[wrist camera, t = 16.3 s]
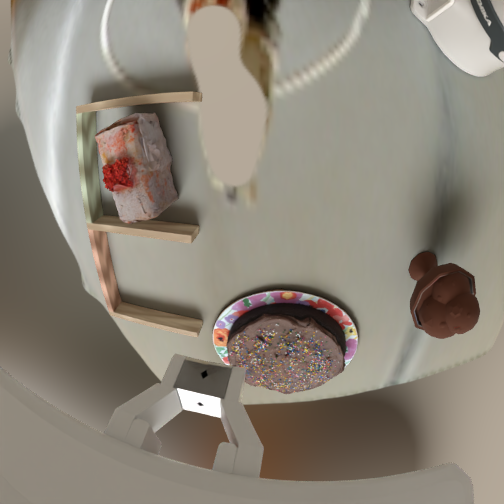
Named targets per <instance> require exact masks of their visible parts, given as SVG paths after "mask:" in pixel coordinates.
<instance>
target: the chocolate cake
mask: <svg viewBox="0 0 504 504" xmlns="http://www.w3.org/2000/svg"><path fill="white" fill-rule="evenodd" d="M212 334H213V344H214V347H215V349H216V352H217V354H218V355H219V356H220V358H221V359H222V361H223V362H224V363H225V364H226V365H231V366H235V367H242V368H246V373H245V382H246V383H248V384H249V385H253V386H259V387H263V388H268V389H269V390H276V391H279V392H281V393H284V394H291V393H295V392H300V391H305V390H310V389H313V388H315V387H318V386H321V385H322V384H324V383H325V382H327V381H329V380H330V379H332V378H333V377H335V376H337V375H338V374H339V373H342V372H343V370H344V368H345V367H346V366H347V365H348V364H349V363H350V362H351V360H352V358H353V356H354V355H355V352H356V349H357V346H358V337H359V336H358V332H357V328H356V325H355V323H354V322H353V321H352V319H351V318H350V316H349V315H348V314H347V313H346V312H345V310H343V309H342V308H340V307H338V305H336V304H333V303H332V302H330V301H328V300H327V299H326V298H324V297H320V296H315V295H312V294H308V293H302V292H298V291H293V290H290V291H289V290H287V291H284V290H283V289H273V290H267V291H264V292H261V293H260V292H258V293H256V294H253V295H250V296H247V297H243V298H240V299H238V300H236V301H234V302H233V303H231V304H230V305H229V306H228V307H226V309H224V310H223V311H222V312H221V314H220V315H219V317H218V318H217V320H216V322H215V324H214V329H213V332H212Z"/></svg>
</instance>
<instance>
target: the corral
mask: <svg viewBox="0 0 504 504" xmlns="http://www.w3.org/2000/svg"><path fill="white" fill-rule="evenodd" d="M172 102H202V93H199V92H173V93H159V94H149V95H140V96H132V97H124V98H118V99H112V100H106V101H100V102H95V103H90V104H85V105H81V106H76V122H77V148H78V162H79V172H80V182H81V190H82V197H83V204H84V210H85V216H86V222H87V228H88V233H89V238H90V242H91V247H92V252H93V256H94V260H95V264H96V268H97V272H98V276H99V280H100V283H101V287H102V290H103V294H104V297H105V300H106V304H107V307H108V310H109V313H110V315H111V316H115V317H118V318H121V319H125V320H128V321H132V322H136V323H139V324H143V325H147V326H151V327H155V328H159V329H163V330H167V331H171V332H175V333H180V334H184V335H189V336H193V337H198V335H199V333H200V330H201V328H202V325H203V320H200V319H195V318H190V317H185V316H180V315H176V314H171V313H167V312H162V311H158V310H153V309H149V308H145V307H141V306H137V305H133V304H129V303H125V302H121V298H120V294H119V290H118V286H117V282H116V278H115V274H114V269H113V265H112V260H111V255H110V250H109V245H108V240H107V234H106V232H112V233H119V234H126V235H134V236H141V237H148V238H156V239H163V240H170V241H177V242H185V243H192V242H193V241H194V239H195V238H196V236H197V235H198V234H199V225H191V224H182V223H173V222H165V221H156V220H145V221H141V222H134V223H133V224H129V223H125V222H123V221H122V220H121V219H120V217H118V216H108V215H103V209H102V201H101V193H100V184H99V173H98V160H97V142H96V139H95V135H96V111H98V110H105V109H111V108H118V107H126V106H134V105H144V104H156V103H172Z"/></svg>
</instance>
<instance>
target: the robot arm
mask: <svg viewBox="0 0 504 504" xmlns="http://www.w3.org/2000/svg"><path fill="white" fill-rule="evenodd" d="M419 3H420V4H421V5H422V6H420V5H419ZM410 9H411V11H412V12H413V14H414V15H415V16H416V17H417V18H418V19H419V20H420V21H421V22H422V23H423V24H425V26H426V27H427V28H428V30H429V31H430V33H431V35H432V37H433V39H434V40H435V42H436V43H437V45H438V46H439V48H440V49H441V50H442V52H443V53H444V54H445V55H446V56H447V57H448V58H449V59H450V60H451V61H452V62H453V63H454V64H455V65H456V66H458V67H459V68H460V69H462V70H463V71H465V72H467V73H469V74H471V75H474V76H480V77H482V76H487V75H489V74H491V73H492V72H494V71H496V70H498V69H500V68H503V67H504V0H411V5H410ZM245 373H246V368H242V367H235V366H231V365H225V364H220V363H214V362H208V361H203V360H199V359H195V358H190V357H187V356H183V355H179V354H175V355H174V356H173V357H172V359H171V362H170V364H169V366H168V368H167V370H166V373H165V375H164V377H163V379H162V382H161V384H159V383H157V384H155V385H153V386H152V387H150V388H149V389H147V390H146V391H144V392H142V393H141V394H139V395H137V396H136V397H134V398H133V399H131V400H129V401H128V402H126V403H124V404H123V405H121V406H119V407H118V408H116V409H115V411H114V413H113V415H112V417H111V419H110V421H109V423H108V425H107V428H106V430H105V431H104V433H102V432H100V431H98V430H96V429H94V428H92V427H90V426H88V425H86V424H84V423H82V422H81V421H79V420H77V419H75V418H73V417H72V416H70V415H68V414H66V413H65V412H63V411H61V410H59V409H58V408H56V407H55V406H53V405H52V404H50V403H49V402H47V401H46V400H44V399H42V398H41V397H40V396H38V395H37V394H35V393H34V392H32V391H31V390H30V389H28V388H27V387H25V386H24V385H23V384H21V383H20V382H19V381H18V380H16V379H15V378H14V377H12V376H11V375H10V374H9V373H7V372H6V371H5V370H4V369H3V368H2V367H0V504H474V494H473V484H472V481H471V479H470V477H469V476H468V475H467V474H466V473H465V472H464V471H463V470H462V469H461V468H460V467H459V466H458V465H457V464H455V463H446V464H442V465H439V466H435V467H431V468H427V469H423V470H419V471H414V472H409V473H404V474H399V475H393V476H386V477H379V478H372V479H361V480H349V481H325V482H324V481H320V482H315V481H286V480H274V479H264V478H259V474H260V468H261V462H262V456H263V450H264V447H263V446H262V444H261V442H260V440H259V438H258V436H257V434H256V432H255V429H254V427H253V426H252V423H251V421H250V419H249V417H248V415H247V413H246V411H245V409H244V406H243V404H242V403H241V400H242V395H243V389H244V382H245ZM182 409H185V410H189V411H194V412H198V413H203V414H207V415H211V416H215V417H219V418H221V420H222V423H223V425H224V428H225V431H226V433H227V436H228V438H229V441H230V443H225V442H222V443H221V444H219V447H218V450H217V454H216V458H215V461H214V465H213V469H212V470H210V469H205V468H201V467H197V466H193V465H189V464H185V463H182V462H178V461H175V460H172V459H168V458H165V457H162V456H159V455H158V454H159V451H160V448H161V445H162V444H161V442H160V440H159V439H158V437H157V436H156V435H155V432H156V431H157V430H158V429H160V428H161V427H162V426H164V425H165V424H166V423H167V422H169V421H170V420H171V419H172V418H173V417H175V416H176V415H177V414H178V413H180V412H181V411H182Z"/></svg>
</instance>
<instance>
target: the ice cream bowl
mask: <svg viewBox="0 0 504 504" xmlns="http://www.w3.org/2000/svg"><path fill="white" fill-rule="evenodd" d="M409 273H410V276H411V278H412V279H414V280H417V284H416V286H415V289H414V292H413V294H412V297H411V300H410V310H411V314H412V317H413V321H414V324H415V327H416V328H419V329H422V330H425V332H426V333H427V334H429V335H431V336H433V337H436V338H439V339H444V338H447V337H451V336H453V335H454V334H455V333H457V334H463V333H465V332H467V331H469V330H471V329H472V328H473V327H474V326H475V324H476V323H477V322H478V318H479V315H480V308H479V303H478V300H477V298H476V297H475V294H476V289H475V279H474V276H473V275H472V274H470V273H469V272H467V271H466V270H464V269H463V268H461V267H459V266H458V265H456V264H452V263H448V264H444V265H440V266H438V264H437V260H436V257H435V255H434V254H432V253H430V252H424V253H419V254H418V255H417V256H416V257H415V258H414V259H413V260H412V261H411V264H410V267H409Z"/></svg>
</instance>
